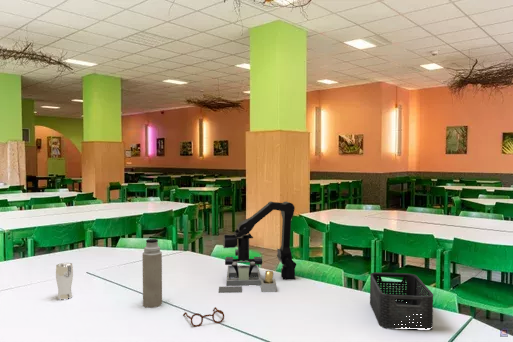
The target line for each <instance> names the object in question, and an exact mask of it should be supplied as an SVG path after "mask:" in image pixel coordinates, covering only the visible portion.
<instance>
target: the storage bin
mask: <svg viewBox="0 0 513 342" xmlns="http://www.w3.org/2000/svg"><path fill="white" fill-rule="evenodd" d="M382 277H385V278H402V280H401V281H390V280H389V281H388V280H387V281H385V280H383V279H382ZM369 280H370V282H369V283H370V288H369V294H370V296H369V305H370V307H371V311H372V312H373V315H374V317H375V318H376V321H377V323H378V326H380V327H381V326H383V327H386V328H385V329H387V328H401V327H403V328H405V327H407V328H409V327H410V328H425V329H427V328H431V327H432V326H433V321H434V320H433V318H434V315H433V314H434V309H433V307H434V293H433V292H432V291H431V290H430V289H429V288H428V286H426V284H425V283H423V281H422V280H421V279H420V278H419V277H418V275H417V274H413V273H406V272H405V273H399V272H372V273H370V279H369ZM406 302H407V303H406ZM413 314H414V315H413ZM416 314H418V315H416ZM420 314H422V315H420ZM406 316H407V317H406ZM409 316H410V317H409ZM420 317H422V318H420ZM409 319H410V320H409ZM413 319H414V320H413ZM401 321H402V322H401ZM409 322H410V323H409ZM412 322H414V323H412ZM417 322H418V323H417ZM420 322H421V323H420ZM394 324H395V325H394ZM398 324H399V325H398ZM401 324H403V325H401ZM405 324H406V325H405ZM416 325H417V326H416ZM420 325H422V326H420ZM383 327H382V328H383Z"/></svg>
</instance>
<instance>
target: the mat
mask: <svg viewBox="0 0 513 342" xmlns="http://www.w3.org/2000/svg"><path fill="white" fill-rule="evenodd" d="M217 292H218V293H220V294H222V293H227V294H228V293H229V294H230V293H243V286H218V291H217Z"/></svg>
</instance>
